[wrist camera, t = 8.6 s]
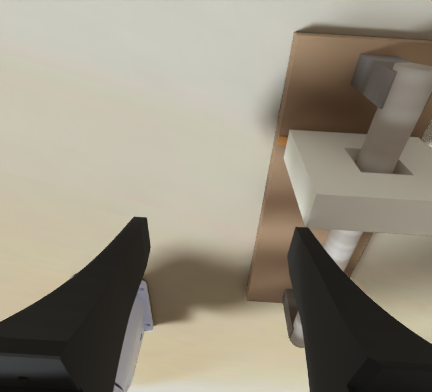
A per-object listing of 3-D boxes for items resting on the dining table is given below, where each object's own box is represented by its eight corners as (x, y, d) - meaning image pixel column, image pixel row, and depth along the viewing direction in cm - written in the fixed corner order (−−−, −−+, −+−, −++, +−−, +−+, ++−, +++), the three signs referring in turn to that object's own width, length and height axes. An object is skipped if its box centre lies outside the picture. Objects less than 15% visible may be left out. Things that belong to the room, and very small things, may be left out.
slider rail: (331, 295, 30) (350, 354, 25) (246, 290, 30) (249, 348, 25) (454, 41, 16) (552, 66, 11) (294, 32, 16) (321, 52, 11)
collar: (404, 165, 19) (475, 238, 13) (283, 158, 19) (305, 228, 13) (418, 137, 18) (502, 205, 12) (289, 129, 18) (316, 194, 12)
